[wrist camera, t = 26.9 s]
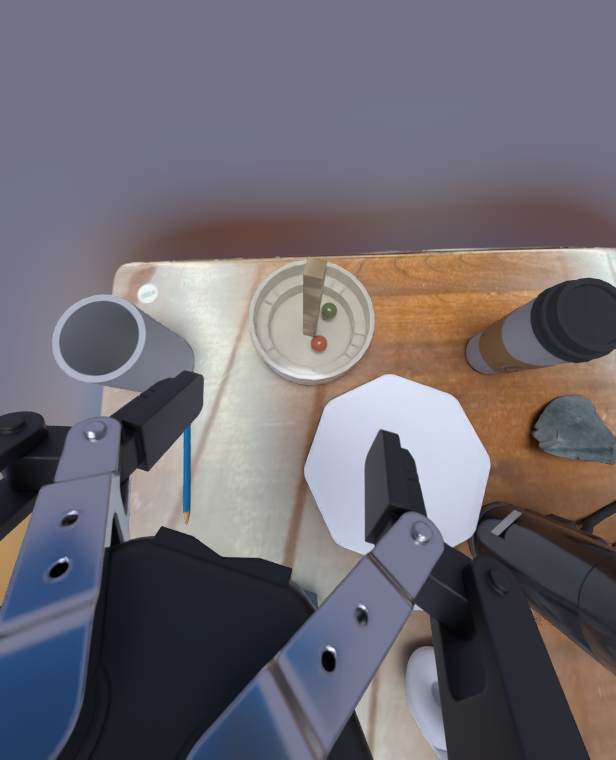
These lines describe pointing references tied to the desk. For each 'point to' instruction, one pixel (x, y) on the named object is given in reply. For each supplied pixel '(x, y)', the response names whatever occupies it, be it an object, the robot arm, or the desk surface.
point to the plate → (417, 434)
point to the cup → (117, 345)
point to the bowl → (343, 333)
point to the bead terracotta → (319, 343)
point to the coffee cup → (550, 330)
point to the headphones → (426, 697)
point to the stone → (575, 431)
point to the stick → (312, 293)
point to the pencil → (186, 474)
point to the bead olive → (328, 311)
